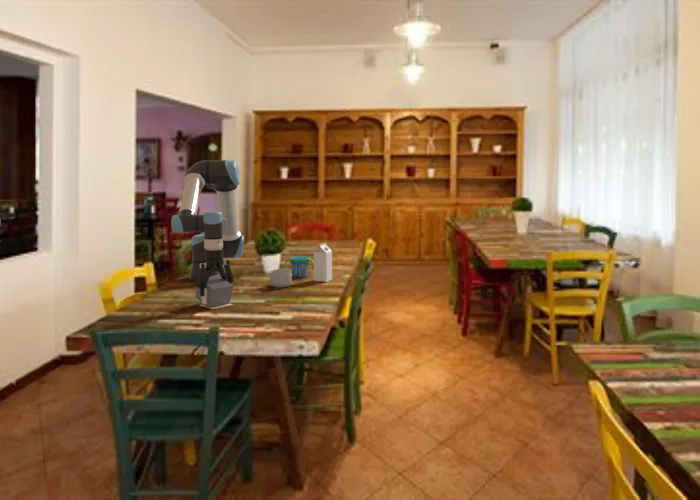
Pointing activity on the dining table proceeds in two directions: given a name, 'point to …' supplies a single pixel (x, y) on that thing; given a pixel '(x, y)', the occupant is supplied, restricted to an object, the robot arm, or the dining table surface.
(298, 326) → the dining table surface
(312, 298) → the dining table surface
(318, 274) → the milk carton
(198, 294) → the grey block
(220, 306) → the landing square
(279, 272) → the teacup
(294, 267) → the snack cup
